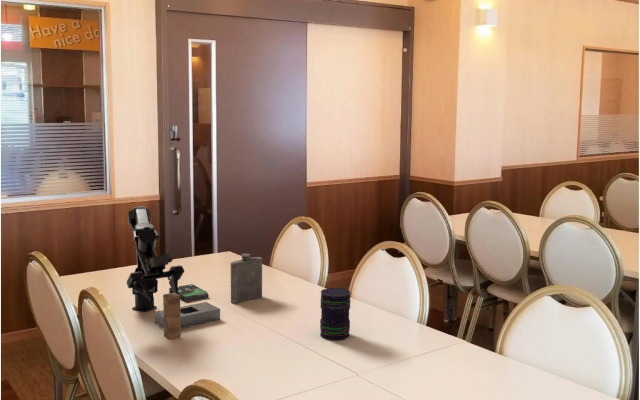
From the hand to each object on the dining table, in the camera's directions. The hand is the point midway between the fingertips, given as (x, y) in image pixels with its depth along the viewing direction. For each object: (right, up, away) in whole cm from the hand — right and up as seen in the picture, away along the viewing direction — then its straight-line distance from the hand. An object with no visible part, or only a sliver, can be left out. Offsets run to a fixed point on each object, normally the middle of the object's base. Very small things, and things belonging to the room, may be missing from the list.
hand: (164, 297), depth 223 cm
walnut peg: (+3, -12, -2) cm, 13 cm away
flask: (+23, -7, +39) cm, 46 cm away
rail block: (+5, -10, +13) cm, 17 cm away
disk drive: (0, -6, +44) cm, 44 cm away
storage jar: (+56, -13, +1) cm, 58 cm away
